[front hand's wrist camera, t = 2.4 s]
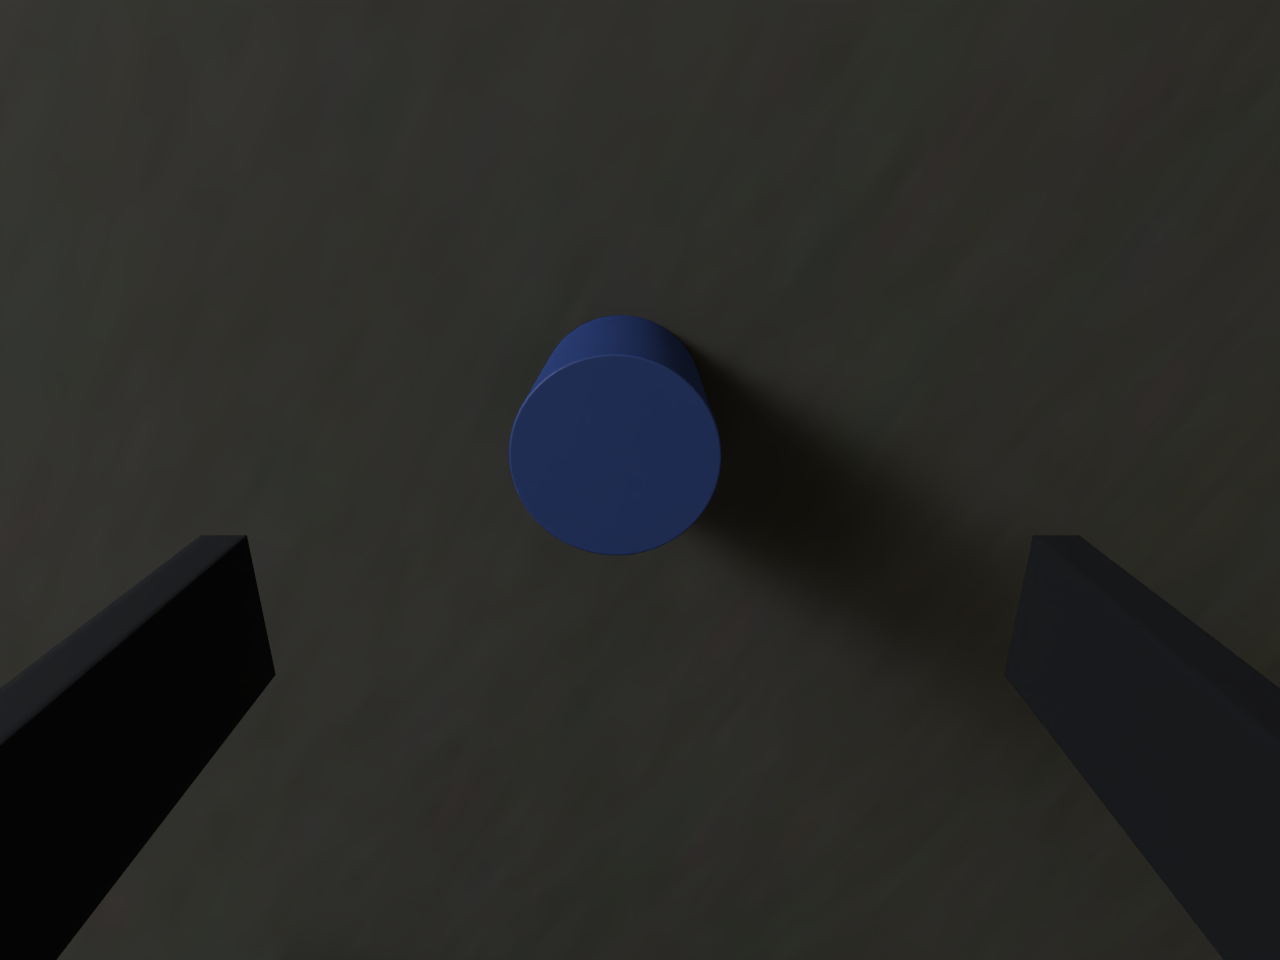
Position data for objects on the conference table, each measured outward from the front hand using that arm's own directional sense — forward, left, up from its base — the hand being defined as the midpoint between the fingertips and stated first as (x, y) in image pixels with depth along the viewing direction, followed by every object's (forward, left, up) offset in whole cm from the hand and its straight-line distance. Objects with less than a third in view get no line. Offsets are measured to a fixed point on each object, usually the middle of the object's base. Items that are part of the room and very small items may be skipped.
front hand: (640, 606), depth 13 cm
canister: (-1, 0, -15) cm, 15 cm away
